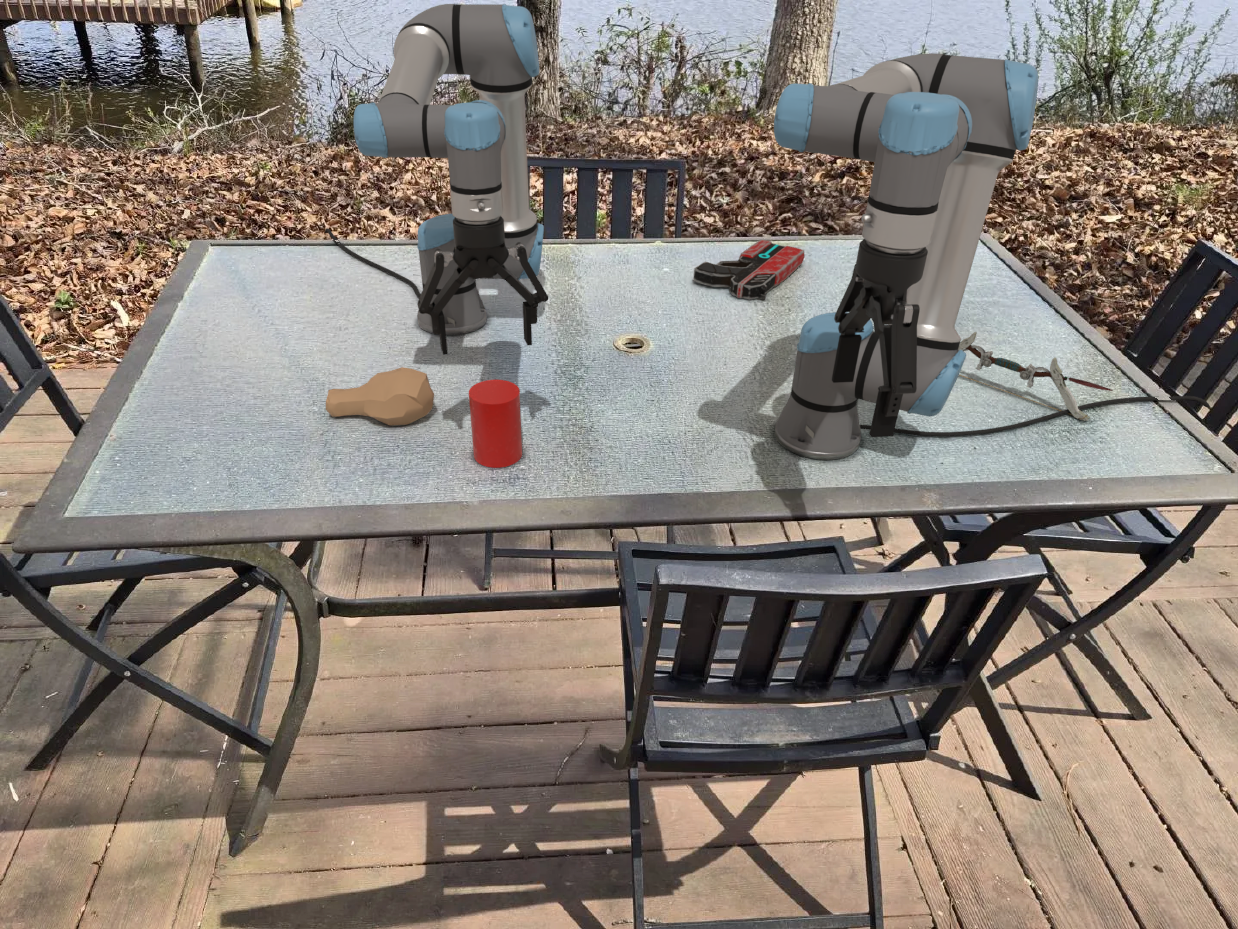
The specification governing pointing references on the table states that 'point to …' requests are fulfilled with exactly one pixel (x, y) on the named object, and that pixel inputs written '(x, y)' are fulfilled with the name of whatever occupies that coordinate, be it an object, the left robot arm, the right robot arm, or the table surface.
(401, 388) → the squash
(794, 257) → the gun
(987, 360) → the bow
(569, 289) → the table surface
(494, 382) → the tin
